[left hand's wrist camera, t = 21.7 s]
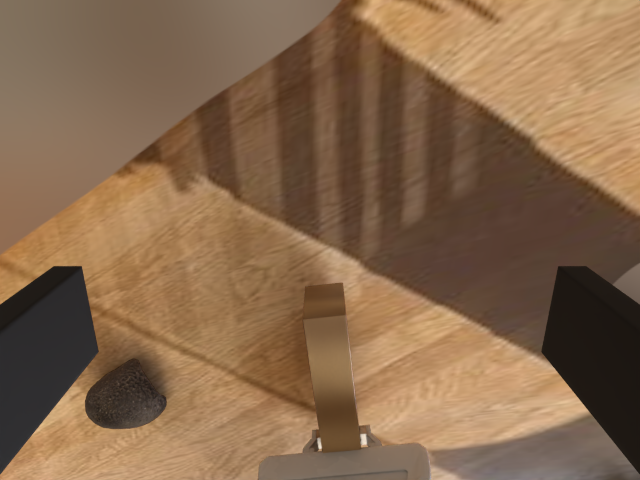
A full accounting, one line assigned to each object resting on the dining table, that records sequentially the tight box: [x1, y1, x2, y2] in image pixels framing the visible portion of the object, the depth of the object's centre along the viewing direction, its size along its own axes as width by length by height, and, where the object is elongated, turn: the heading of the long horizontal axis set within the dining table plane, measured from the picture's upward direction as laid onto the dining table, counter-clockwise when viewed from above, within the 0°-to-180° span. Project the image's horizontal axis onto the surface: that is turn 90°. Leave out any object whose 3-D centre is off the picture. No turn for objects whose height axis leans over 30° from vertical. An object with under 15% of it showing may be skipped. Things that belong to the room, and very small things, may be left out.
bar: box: [303, 283, 361, 453], centre depth 56 cm, size 24×5×8 cm, turn 7°
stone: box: [85, 359, 166, 429], centre depth 60 cm, size 10×8×10 cm
